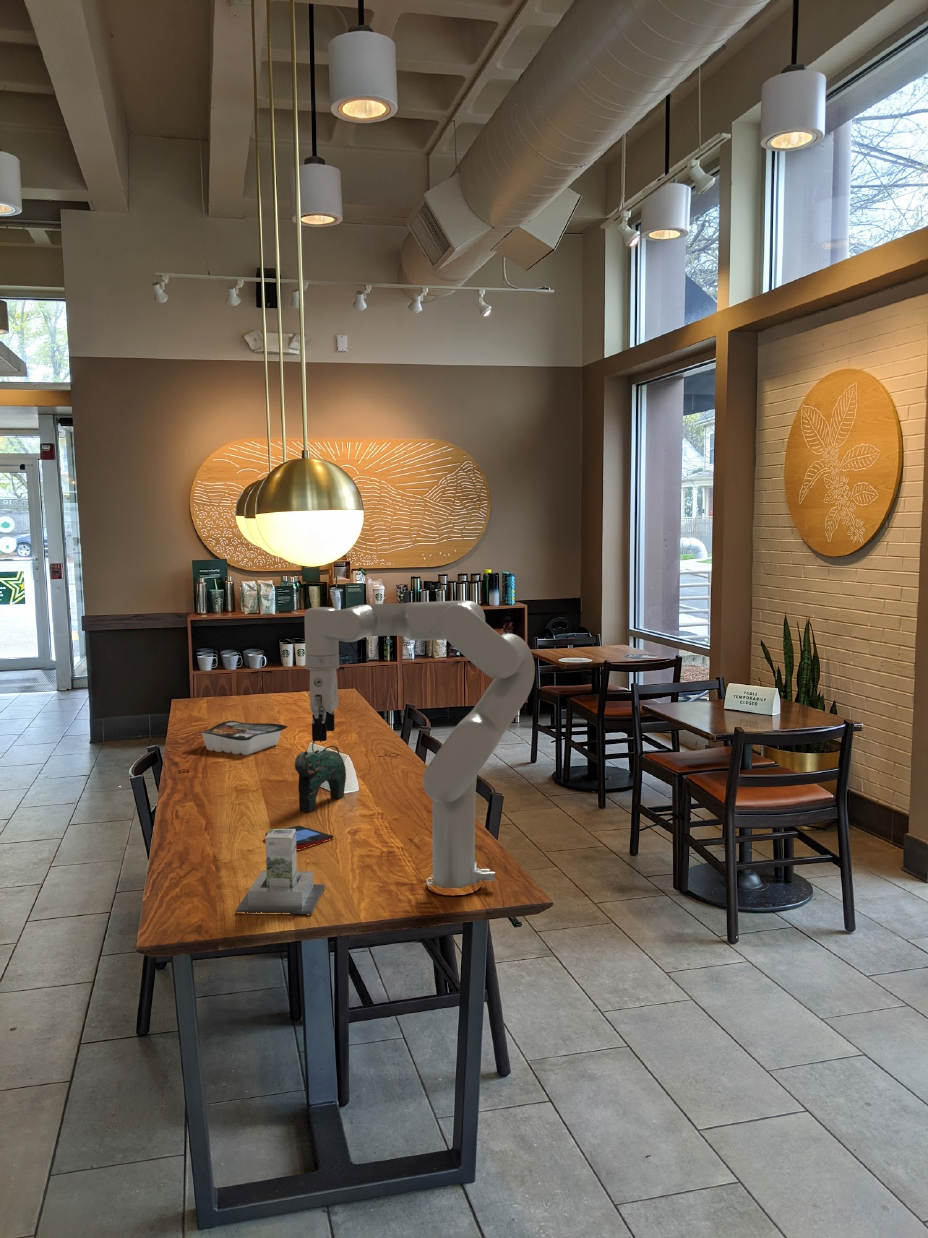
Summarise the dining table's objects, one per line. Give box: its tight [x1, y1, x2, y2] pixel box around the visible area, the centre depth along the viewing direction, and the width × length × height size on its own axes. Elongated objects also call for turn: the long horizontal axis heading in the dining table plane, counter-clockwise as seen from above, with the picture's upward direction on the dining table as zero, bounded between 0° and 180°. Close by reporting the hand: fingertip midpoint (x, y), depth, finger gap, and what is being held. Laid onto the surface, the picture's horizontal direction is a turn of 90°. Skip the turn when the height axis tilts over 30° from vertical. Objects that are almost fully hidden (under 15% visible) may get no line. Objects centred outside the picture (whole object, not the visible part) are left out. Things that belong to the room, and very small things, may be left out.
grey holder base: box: [235, 870, 325, 915], centre depth 201 cm, size 16×14×4 cm
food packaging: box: [198, 720, 289, 756], centre depth 339 cm, size 25×8×23 cm
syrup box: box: [265, 828, 298, 888], centre depth 200 cm, size 6×6×14 cm
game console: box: [264, 825, 335, 849], centre depth 241 cm, size 14×13×2 cm
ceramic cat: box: [294, 740, 347, 814], centre depth 270 cm, size 20×6×20 cm, turn 151°
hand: (323, 735), depth 212 cm, fingers open, 9 cm apart
